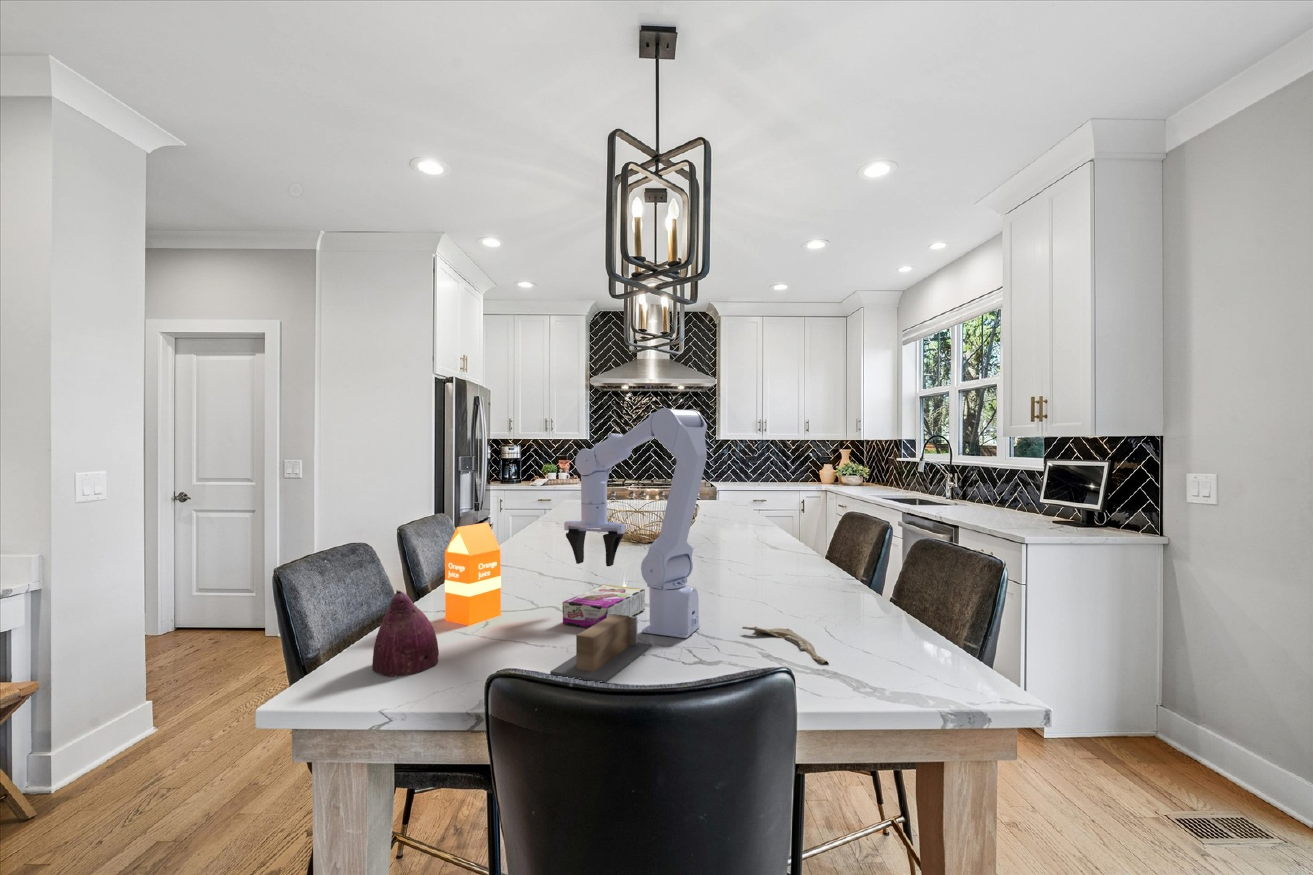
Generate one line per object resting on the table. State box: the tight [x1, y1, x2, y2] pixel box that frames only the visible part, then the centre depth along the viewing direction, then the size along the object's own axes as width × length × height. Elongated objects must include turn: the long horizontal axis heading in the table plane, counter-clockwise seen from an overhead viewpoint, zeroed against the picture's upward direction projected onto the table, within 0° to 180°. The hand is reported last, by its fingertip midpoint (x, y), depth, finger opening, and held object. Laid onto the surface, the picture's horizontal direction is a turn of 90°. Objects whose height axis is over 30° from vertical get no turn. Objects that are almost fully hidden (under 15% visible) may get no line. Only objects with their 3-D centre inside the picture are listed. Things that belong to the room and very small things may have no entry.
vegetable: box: [371, 589, 440, 677], centre depth 101 cm, size 10×10×15 cm
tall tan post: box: [575, 613, 638, 672], centre depth 104 cm, size 14×6×6 cm, turn 156°
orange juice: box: [444, 522, 502, 627], centre depth 129 cm, size 8×9×20 cm
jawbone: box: [741, 626, 830, 665], centre depth 111 cm, size 9×20×2 cm, turn 35°
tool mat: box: [549, 641, 653, 683], centre depth 104 cm, size 10×18×1 cm, turn 156°
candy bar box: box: [562, 584, 646, 629], centre depth 129 cm, size 11×5×16 cm
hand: (594, 564), depth 133 cm, fingers open, 7 cm apart
